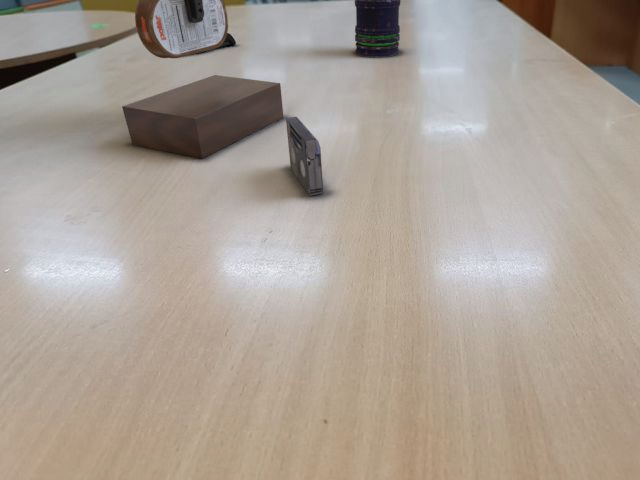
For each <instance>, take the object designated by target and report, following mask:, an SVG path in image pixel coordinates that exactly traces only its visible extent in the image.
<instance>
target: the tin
mask: <svg viewBox="0 0 640 480" xmlns="http://www.w3.org/2000/svg"><path fill="white" fill-rule="evenodd" d="M202 2H203V9H204V17H203V21H202V22H198V23H190V22H189V20H188V16H187V10H186V4H185V0H138V1H137V4H136V7H135V12H134V21H135V28H136V32H137V34H138V35H137V36H138V38H139V40H140V41H141V43H142V45H143V47H144V48H145V49H146V50H147V51H148V52H149V53H151V55H154V56H155V57H157V58H160V59H180V58H184V57H189V56H192V55H196V54H200V53H203V52H204V53H205V52H208V51H212V50H217V49H218V48H220V47H222V46H221V45H222V43H223V42H224V40H225V38H226V36H227V33H229V20H228V19H229V18H228V13H227V8H226V3H225V1H224V0H202ZM219 46H220V47H219Z"/></svg>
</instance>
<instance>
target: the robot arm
mask: <svg viewBox="0 0 640 480" xmlns="http://www.w3.org/2000/svg"><path fill="white" fill-rule="evenodd" d="M185 4H186V10H187V16H188V20H189V22H190V23H198V22H202V21H203V17H204V9H203V2H202V0H185Z"/></svg>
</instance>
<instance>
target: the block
mask: <svg viewBox="0 0 640 480" xmlns="http://www.w3.org/2000/svg"><path fill="white" fill-rule="evenodd" d="M282 97H283V96H282V87H281V83H280V82H274V81H267V80H266V81H265V80H258V79H251V78H241V77H234V76H227V75H218V74H213V75H211V76H208V77H204V78H201V79H199V80H196V81H192V82H190V83H187V84H183V85H181V86H178V87H176V88H175V87H174V88H172V89H169V90H166V91H163V92H160V93H158V94H155V95H152V96H148V97H145V98H142V99H140V100H136V101H134V102H130V103H128V104H124V105H122V106H121V109H122V113H123V115H124V119H125V123H126V127H127V131H128V135H129V139H130V142H131V145H134V146H139V147H143V148H148V149H152V150H153V149H154V150H159V151H163V152H168V153H172V154H173V153H174V154H177V155H183V156H187V157H193V158H197V159H202V160H203V159H205V158H207V157H208V156H210V155H213V154H215V153H216V152H219V151H221V150H222V149H224V148H227V147H229V146H230V145H232V144H234V143H236V142H238V141H241V140H242V139H244V138H246V137H248V136H250V135H252V134H254V133H256V132H258V131H260V130H261V129H265V128H266V127H268V126H270V125H271V124H273V123H276V122H278V121H280V120H282V119H284V106H283V98H282Z"/></svg>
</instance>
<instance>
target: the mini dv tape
mask: <svg viewBox="0 0 640 480" xmlns="http://www.w3.org/2000/svg"><path fill="white" fill-rule="evenodd" d="M285 122H286V134H287V143H288V144H287V145H288V155H289V167H290V170H291V171H292V172H293V174H294V175H295V176H296V178H297V180H298V181H299V183H300V185H301V186H302V188H303V189H304V190H305V192H306V194H307V195H308V196H309V197H311V196H317V195H323V194H324V185H323V184H324V183H323V181H324V180H323V166H322V165H323V164H322V151H321V145H320V142H319V140H318V139H317V138H316V137H315V135H314V134H313V133H312V132H311V131H310V130H309V129H308V127H306V125H305V124H304V123H303V121H301V120H300V118H298V117H297V116H290V117H285Z"/></svg>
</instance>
